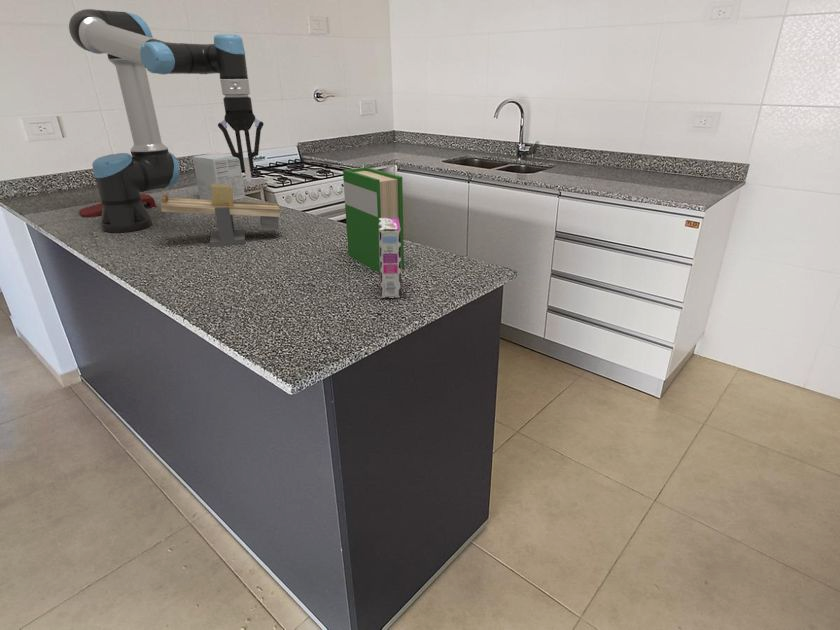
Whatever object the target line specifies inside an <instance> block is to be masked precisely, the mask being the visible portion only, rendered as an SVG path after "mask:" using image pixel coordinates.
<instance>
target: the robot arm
mask: <svg viewBox="0 0 840 630" xmlns="http://www.w3.org/2000/svg"><path fill="white" fill-rule="evenodd" d="M68 29H69V31H68V32H69V34H70V38H72V40H73V41H74V42H75V44H76V45H77V46H78V47H79V48H81V49H83V50H85V51H87V52H90V53H93V54H97V55H101V54H107V60H108V61H109V62H110V63H112V65H114V67H115V70H116V73H117V78H118V82H119V86H120V91H121V95H122V100H123V104H124V108H125V111H126V116H127V120H128V125H129V128H130V134H131V137H132V138H131V139H132V142H133V145H132V147H131V149H130V154H129V153H127V152H120V153H119V152H117V153H110V154H106V155H104V156H103V155H102V156H99V157H97V158H96V159H94V160H93V162H92V163H91V165H92V172H93V177H94V179H95V183H96V186H97V190H98V194H99V197H100V203H102V206H103V208H102V214H101V221H100V224H101V229H102V231H103V232H107V233H130V232H135V231H141V230H144V229H148V228H150V227H151V226H152V225H153V221H152V217H151V215H150V213H149V212H148V210H147V209H146V207H145V205H144V203H142V202H141V197H140V194H141V193H143V192H148V191H149V192H150V191H152V190H153V191H154V190H158V189H166V188H169V187H171V186H175V184H176V183H177V182H178V180H179V178H180V173H181V172H180V164H179V161H178V159H176V155H174V154H173V153H172V152H170V151H169V148H168V147H167V145H165V144H164V143H163V142H162V139H161V137H162V136H161V134H160V129H159V124H158V120H157V115H156V110H155V105H154V101H153V96H152V95H153V94H152V92H151V87H150V82H149V77H148V73H147V71H148V72H149V73H151V74H157V75H158V74H159V75H170V74H171V75H173V74H176V75H177V74H178V75H179V74H181V75H182V74H184V75H187V74H188V75H190V74H191V75H193V74H195V75H196V74H197V75H210V74H218V75H219V79H220V80H219V81H220V86H221V87H220V88H221V93H222V95H223V96H224V97H223V98H222V99H223V100H222V101H223V106H224V107H223V108H224V112H225V113H224V114H225V115H224V117H223V118H224V119H223V120H222V121H220V122H218V123H217V126H218V128H219V129H220V130H221V132H222V134H223V136H224V139H225V141H226V144H227V146H228V149H229V150H230V154H232V156H233V157H237V158H239V160H240V167H241V171H244V173H245V178H246V182H248V183H249V182H253V181H252V179H253V178H252V174H251V173H252V172H251V171H252V170H254V168H255V167H254V166H255V165H254V158H255V157H257V156H259V151H260V142H261V141H260V140H261V132H262V129H263V126H264V122H263V121H262V120H259V119H258V118H256V115H255V114H254V111H253V103H252V98H251V97H250V96H249V95H251V91H250V90H251V89H250V84H249V83H250V82H249V77H248V69H247V68H248V67H247V61H246V60H247V59H246V51H245V47H244V42H243V37H242V36H240V35H238V34H229V33H228V34H227V33H226V34H225V33H222V34H221V33H220V34H219V33H218V34H216V35H214V36H213V43H205V44H204V43H203V44H202V43H186V42H185V43H184V42H183V43H182V42H181V43H177V42H167V41H163V40H159V39H157V38H154V37H153V34H152V31H151V29H150V27H149V24H147V23H146V21H145V20H144V19H143V18H142V17H141V16H139V15H138V14H135V13H130V12H126V11H116V10H113V11H112V10H101V9H94V8H93V9H92V8H91V9H90V8H87V9H81V10H78V11H76V12H75V13H74V14H73V15H71V17H70V20H69V23H68ZM254 123H255V124H254ZM227 124H228V125H227ZM253 124H254V126H255V127H256V128H255V129H256V130H255V138H254V147H253V151H252V145H251V144H252V143H251V139H250V132H249V130H251V128H252V126H253ZM228 126H229V127H230V128H231V129H232V130H233V131H234V134H235V139H236V146H237V152H236V149H235V147H234V144H233V141H232V139H231V137H230V134H229V131H228V130H227V128H228ZM241 131H243V132H244V140H245V145H246V150H247V151H246V152H247V157H244V152H243V151H244V150H243V146H242V139H241Z"/></svg>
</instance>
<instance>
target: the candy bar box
mask: <svg viewBox="0 0 840 630" xmlns="http://www.w3.org/2000/svg"><path fill="white" fill-rule="evenodd" d="M379 257H380V274H379V281H380V282H379V285H380V298H381V299H382V298H389V297H401V298H402V269H401V229H400V224H399V219H398V218H379Z"/></svg>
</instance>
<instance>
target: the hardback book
mask: <svg viewBox="0 0 840 630" xmlns="http://www.w3.org/2000/svg"><path fill="white" fill-rule="evenodd" d="M342 177H343V194H344V207H345V221H346V223H345V224H346V239H347V256H348V257H349V256H350V257H351V258H350V257H349V258H350V259H352V258H353V259H352V260H354V259H355V260H354V261H356V260H357V261H359V262H360V263H359V262H358V263H359V264H361V263H362V264H361V265H363V264H364V265H363V266H365V265H366V266H368V267H370V268H371V269H370V268H369V269H370V270H372V269H373V270H375V271H377V272H379V273H380V257H379V218H398V219H399V224H400V229H401V268H404V269H405V259H404V258H405V256H404V253H405V250H404V244H405V243H404V202H403V201H404V197H403V195H404V194H403V176H402V175H398V174H393V173H389V172H386V171H383V170H382V171H381V170H380V169H379V170H378V169H374V168H372V167H359V168H351V169H349V168H348V169H342ZM357 261H356V262H357ZM366 266H365V267H366ZM368 267H367V268H368ZM373 270H372V271H373ZM375 271H374V272H375ZM377 272H376V273H377ZM379 273H378V274H379Z"/></svg>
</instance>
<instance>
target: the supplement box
mask: <svg viewBox="0 0 840 630" xmlns="http://www.w3.org/2000/svg"><path fill="white" fill-rule="evenodd" d="M191 158H192V162H193V167H194V172H195V173H194V175H195V177H196V178H195V179H196V184H197V190H198V194H199V195H198V196H199V199H200V200H212V197H211V185H212V184H227V185H233V201H236V200H237V201H238V200H242V199H244V198H246V195H245V194H246V193H245V188H244V180H243V174H242V173H243V172H242V170H241V167H240V160H239V158H237V157H233V156H232V154H231V153H222V152H214V153H208V154H207V153H206V154H201V155H195V156H194V155H193V156H192V157H191Z"/></svg>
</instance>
